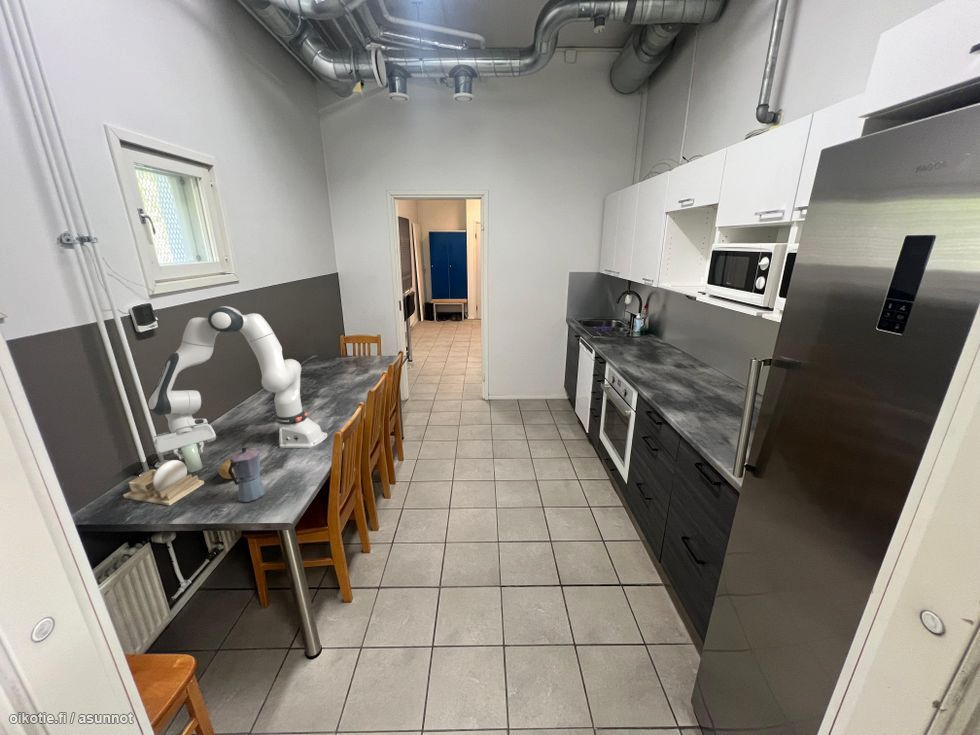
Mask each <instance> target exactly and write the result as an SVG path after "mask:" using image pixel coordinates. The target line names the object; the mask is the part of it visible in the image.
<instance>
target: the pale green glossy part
mask: <svg viewBox="0 0 980 735" xmlns="http://www.w3.org/2000/svg"><path fill="white" fill-rule="evenodd" d="M198 449H199V448H198V445H196V443H192V444H189V445H185V446H182V447H181V450H180V451H181V452H182V453H181V454H183V456H184V459H183V460H184V464H185V465H186V467H187V473H194V472H198V471H200V470H202V469H203V462H202V460H201V459H202V458H201V457H200V456H201V454H199V452H198Z"/></svg>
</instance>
